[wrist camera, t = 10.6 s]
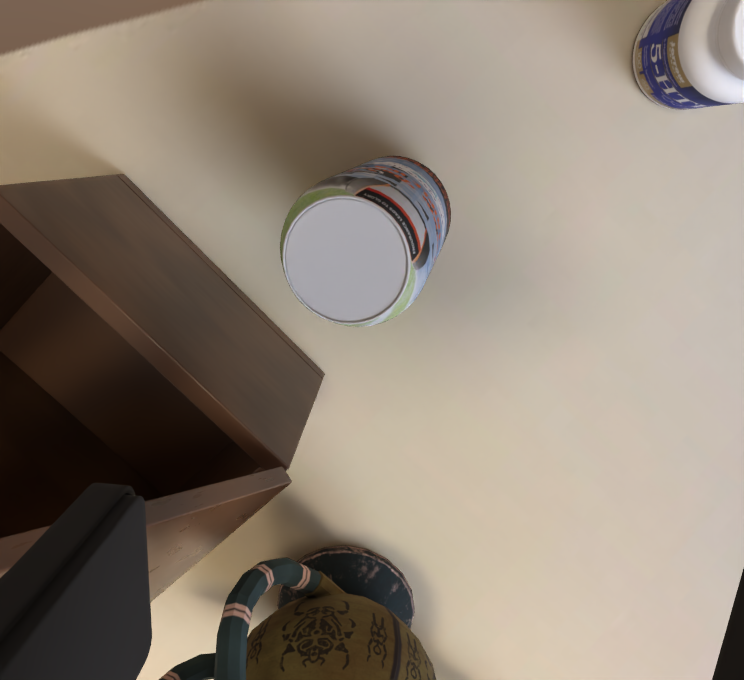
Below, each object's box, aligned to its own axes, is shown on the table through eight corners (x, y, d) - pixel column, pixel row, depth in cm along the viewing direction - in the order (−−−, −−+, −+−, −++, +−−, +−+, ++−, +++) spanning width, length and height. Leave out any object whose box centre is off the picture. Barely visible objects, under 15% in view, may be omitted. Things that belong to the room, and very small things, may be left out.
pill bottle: (607, 63, 31) (681, 32, 23) (686, -31, 30) (797, -101, 21) (683, 133, 32) (781, 128, 23) (764, 44, 31) (900, 5, 22)
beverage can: (470, 229, 34) (500, 270, 23) (359, 301, 36) (334, 374, 24) (406, 128, 33) (404, 118, 21) (294, 207, 34) (235, 238, 23)
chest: (-21, 336, 38) (-197, 412, 27) (123, 173, 34) (-11, 185, 23) (174, 508, 40) (87, 642, 29) (325, 373, 37) (289, 467, 26)
